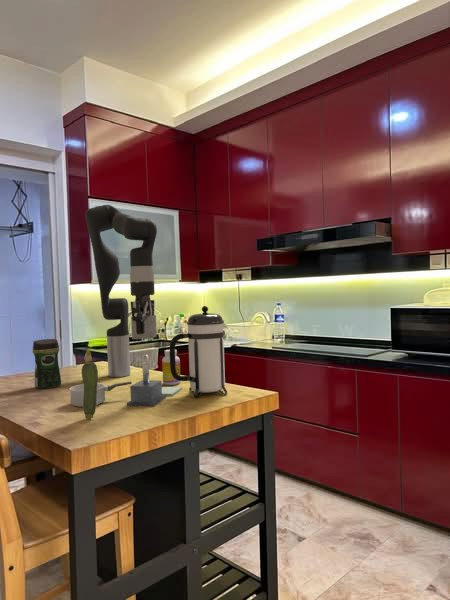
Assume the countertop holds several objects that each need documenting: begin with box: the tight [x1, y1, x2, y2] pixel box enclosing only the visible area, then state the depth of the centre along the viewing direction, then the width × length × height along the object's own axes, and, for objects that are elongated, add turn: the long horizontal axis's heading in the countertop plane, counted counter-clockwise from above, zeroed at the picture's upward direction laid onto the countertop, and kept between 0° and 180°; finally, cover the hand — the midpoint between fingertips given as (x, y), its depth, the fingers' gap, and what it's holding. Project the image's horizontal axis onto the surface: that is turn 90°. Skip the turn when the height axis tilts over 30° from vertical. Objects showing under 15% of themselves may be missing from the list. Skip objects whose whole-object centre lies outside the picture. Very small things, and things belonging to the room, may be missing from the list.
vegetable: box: [81, 348, 99, 420], centre depth 124 cm, size 4×4×20 cm
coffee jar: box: [32, 338, 62, 389], centre depth 170 cm, size 10×8×19 cm
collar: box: [130, 314, 158, 340], centre depth 141 cm, size 6×6×7 cm
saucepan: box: [68, 380, 133, 408], centre depth 143 cm, size 12×20×6 cm, turn 115°
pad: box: [162, 386, 183, 397], centre depth 154 cm, size 10×10×1 cm
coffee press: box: [169, 305, 228, 399], centre depth 149 cm, size 17×16×30 cm
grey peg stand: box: [126, 354, 167, 408], centre depth 141 cm, size 11×9×15 cm
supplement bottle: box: [161, 349, 181, 386], centre depth 168 cm, size 7×7×13 cm
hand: (144, 332), depth 141 cm, fingers closed on collar, 6 cm apart
